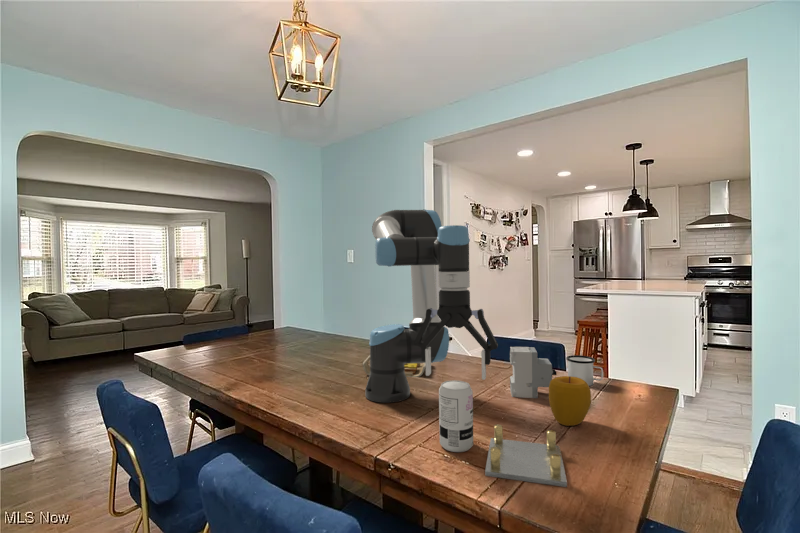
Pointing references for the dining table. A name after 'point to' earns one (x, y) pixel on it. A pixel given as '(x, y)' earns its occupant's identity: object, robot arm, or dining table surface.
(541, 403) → the dining table surface
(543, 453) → the plate
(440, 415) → the supplement can
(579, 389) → the apple
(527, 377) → the circuit breaker
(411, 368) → the toy food set
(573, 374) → the mug
